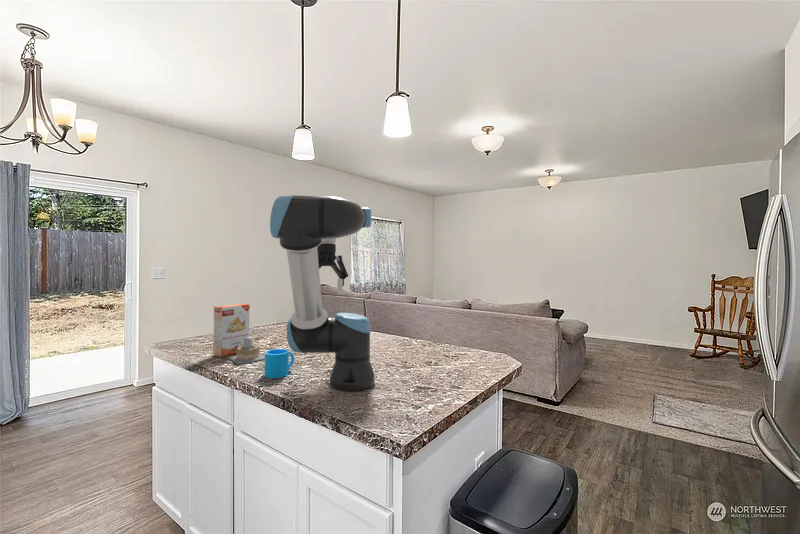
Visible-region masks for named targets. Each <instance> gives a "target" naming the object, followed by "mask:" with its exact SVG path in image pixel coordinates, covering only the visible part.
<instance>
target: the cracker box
mask: <svg viewBox="0 0 800 534" xmlns="http://www.w3.org/2000/svg"><path fill="white" fill-rule="evenodd" d="M212 334H213V335H212V336H213V337H212V338H213V340H212V341H213V347H212V349H213V350H212V351H213V353H212V355H213V356H215V357H219V358H223V357H229V356H233V355H237V348H238V347H240V346H244V338H245V337H250V304H249V303H237V304H226V305H218V306H217V305H216V306H213V332H212Z"/></svg>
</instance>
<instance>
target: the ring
mask: <svg viewBox="0 0 800 534" xmlns="http://www.w3.org/2000/svg"><path fill="white" fill-rule="evenodd" d="M259 353H260V346H258V345H256V344H253V348H252V349H244V346H240V347H238V348H237V353H236V355H237V359H239V360H250V359H256V358H258V357H259Z"/></svg>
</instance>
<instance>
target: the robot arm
mask: <svg viewBox="0 0 800 534" xmlns="http://www.w3.org/2000/svg"><path fill="white" fill-rule="evenodd" d="M271 207H272V208H271V212H270V216H269V217H270V218H269V232H270V235H271V237H272V238H273V239H279V245H280V247H281V248H282V249H283V250H285V251H286V256H287V261H288V270H289V276H290V287H291V292H292V298H293V306H294V312H293V313H292V314H291V317H289V319H288V321H287V323H286V339H287V343H288V346H289V349H290V350H291V351H292V352H294V353H301V354H308V353H309V354H311V353H313V354H314V353H316V354H319V353H323V354H324V353H328V354H329V353H331V354H332V353H333V354H335V357H334V363H333V366H332V370H331V372H330V373H331V374H330V376H329V386H330V387H331V388H332V389H335V390H339V391H343V392H356V391H357V392H358V391H362V390H363V391H365V390H367V389H370V388H372V387H374V386H375V383H376V376H375V373H374V370H373V366H372V363H371V333H372V330H371V321H370V319H369V317H367V316H364V315H363V314H358V313H351V312H337V313H336V314H335V316H334V317H330V316H329V315H328V312H327V310H326V309H324V308H323V302H322V298H323V297H322V288H321V278H320V277H321V276H320V269H321V268H322V267H331V269H332V270H333V271H334V273H335V274H336V275H337V277H338V278H337V280H336V281H337V282H336V283H337V284H336V285H337V290H336V291H337V295H340V296H341V295H343V287H344V286H345V279H346V278H348V277H349V274H348V271H347V269H346V266H345V264H344V260H343V256H342V255H339V254H337V255H336V249H337V248H336V247H337V246H336V243H337V239H339V238H343V237H348V236H350V235H353V234H356V233H358V232H360V231H361V230H362V229H364V228H370V227H371V226H372V209H371V208H369V207H362V206H361V205H359V204H358V203H356V202H355V201H352V200H349V199H346V198H345V199H344V198H342V197H338V196H330V195H329V196H328V195H326V196H323V195H321V196H320V195H295V194H291V195H279V196H277V197H276V199H275V200H274V202H273V204H272V206H271Z"/></svg>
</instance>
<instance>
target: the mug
mask: <svg viewBox="0 0 800 534" xmlns="http://www.w3.org/2000/svg"><path fill="white" fill-rule="evenodd" d="M264 356H265V360H264V376H265V377H266V378H268V379H269V378H270V379H280V378H284V377H287V376H288V375H289V372H290V371H289V370H290V368H291V367H292V366H293V364H294V361H295V356H294V354H293V353H292V352H291V351H289V350H288V349H285V348H283V349H282V348H277V349H276V348H275V349H268V350H266V351H265V352H264ZM289 358H290V360H289Z"/></svg>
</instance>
